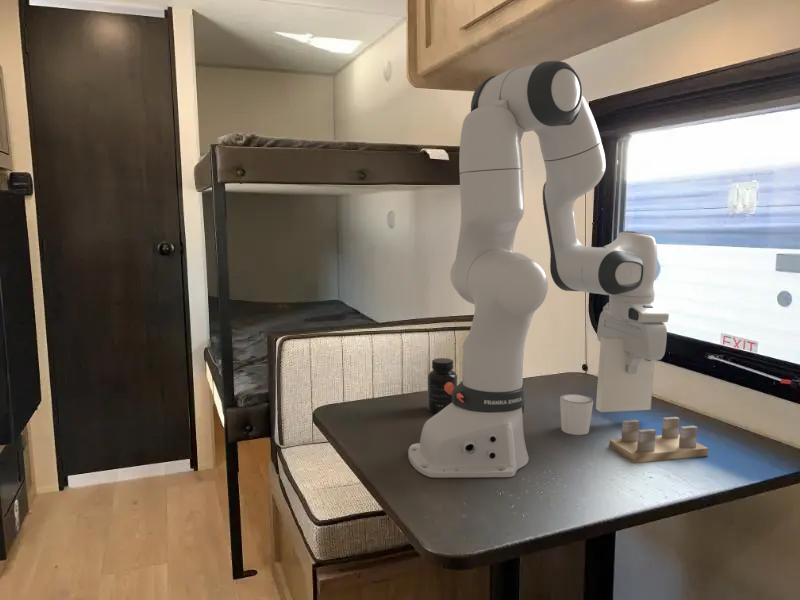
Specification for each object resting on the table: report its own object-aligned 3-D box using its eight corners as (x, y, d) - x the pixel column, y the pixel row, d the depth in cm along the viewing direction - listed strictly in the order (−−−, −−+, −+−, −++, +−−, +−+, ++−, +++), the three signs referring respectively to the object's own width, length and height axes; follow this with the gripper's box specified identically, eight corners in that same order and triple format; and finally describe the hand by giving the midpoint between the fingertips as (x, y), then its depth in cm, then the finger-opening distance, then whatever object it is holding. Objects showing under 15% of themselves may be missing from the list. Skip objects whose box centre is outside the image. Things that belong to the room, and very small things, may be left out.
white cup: (568, 422, 136) (570, 391, 135) (597, 430, 131) (599, 398, 130) (552, 429, 131) (553, 398, 130) (581, 438, 126) (583, 405, 125)
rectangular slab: (603, 413, 132) (609, 340, 130) (595, 408, 135) (600, 337, 133) (653, 411, 134) (659, 339, 132) (644, 406, 138) (650, 336, 135)
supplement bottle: (431, 404, 147) (431, 355, 146) (459, 407, 146) (460, 357, 144) (424, 413, 141) (425, 362, 139) (453, 416, 139) (454, 364, 137)
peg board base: (633, 462, 114) (634, 434, 113) (609, 446, 122) (610, 420, 121) (707, 455, 118) (710, 428, 117) (680, 440, 125) (682, 414, 125)
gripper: (592, 301, 141) (588, 360, 143) (646, 315, 122) (640, 383, 124) (617, 301, 143) (612, 359, 145) (674, 315, 123) (668, 382, 125)
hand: (626, 370), depth 134 cm, fingers closed on rectangular slab, 2 cm apart
